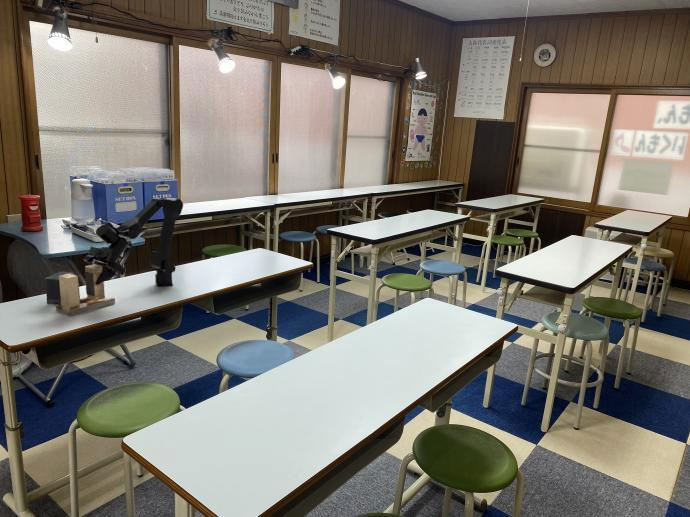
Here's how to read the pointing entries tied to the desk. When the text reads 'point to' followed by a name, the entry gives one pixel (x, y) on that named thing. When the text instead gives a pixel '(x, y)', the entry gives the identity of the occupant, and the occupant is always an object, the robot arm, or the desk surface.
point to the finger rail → (76, 297)
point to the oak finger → (92, 289)
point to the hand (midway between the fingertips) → (91, 283)
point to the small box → (54, 288)
